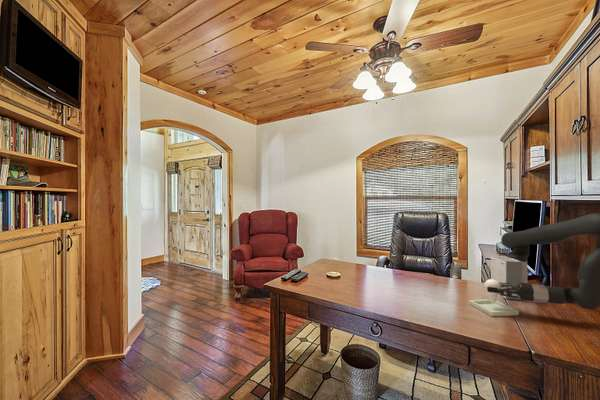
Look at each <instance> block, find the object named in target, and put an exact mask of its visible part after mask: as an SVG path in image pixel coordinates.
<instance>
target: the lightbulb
mask: <svg viewBox="0 0 600 400" xmlns="http://www.w3.org/2000/svg"><path fill="white" fill-rule="evenodd" d="M487 287H493V288H497V289H498V288H501V285H500V284H499V282H498V281H496V280H494V279H491V278H489V279H486V281H485V282H484V288H485V290H487ZM487 294H488V299H490V301H491V302H492V303H494V302H496V300H497V298H498V295H499V294H498V293H493V292H488V291H487Z"/></svg>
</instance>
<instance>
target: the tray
mask: <svg viewBox="0 0 600 400" xmlns="http://www.w3.org/2000/svg"><path fill="white" fill-rule="evenodd" d="M468 305H469V306H471V307H473V308H475V309H477V310H478V311H480V312H482V313H484V314H486V315H487V316H490V317H492V318H495V317H511V316H512V317H513V316H519V315H520V310H518V309H516V308H514V307H512V306H510V305H507V304H505V303H503V302H501V301H499V300H497V299H496V302H494V303H492V302H491V301H490V299H489V298H488V299H487V298H485V299H472V300H471V299H470V300H469V299H468Z"/></svg>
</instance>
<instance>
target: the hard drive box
mask: <svg viewBox="0 0 600 400" xmlns="http://www.w3.org/2000/svg"><path fill="white" fill-rule="evenodd" d="M490 279H494V280H496V281H498V282H499V283H510V285H512V286H517V284H518V283H522V262H521V261H518V260H515V259H513V258H510V257H507V256H506V255H495V254H493V255H490ZM498 295H499V296H501V297H503V299H507V300H518V301H521V300H520V299H519V298H514V297H508V296H502V295H500V294H498Z"/></svg>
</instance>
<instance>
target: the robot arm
mask: <svg viewBox="0 0 600 400" xmlns="http://www.w3.org/2000/svg"><path fill="white" fill-rule="evenodd" d="M581 235H583V236H584V235H591V236H592V235H593V236H597V237H598V240H597V243H596V246H595V247H594V248H593V249H592V250H591V251H590V253H588V254H587V255H586V256H585V257H584V258H583V259H582V261H581V262H580V264H579V268H578V272H577V275H576V280H577V282H578V287H558V286H557V287H556V286H549V285H542V284H538V283H537V284H536V283H528V258H529V256H530V246H531V245H550V244H557V243H562V242H566V241H567V240H568V239H570V238H571V237H574V236H581ZM500 242H501V243H502V245H503V246H505V247H506V248H509V249H511V251H510V252H507V253H506V254H505V256H507V257H510V258H513V259H515V260H518V261H521V262H522V283H518V284H517V286H512V285H510V283H499V284H500V285H501V288H498V289H497V288H493V287H487V289H486V291H487V293H488V292H493V293H498V294H497V295H499V294H500V295H499V296H501V295H502V296H508V297H514V298H519V299H520V300H519V301H528V302H536V303H548V304H556V305H564V304H573V305H577V306H579V307H580V308H582V309H585V310H588V311H592V310H597V309H598V308H599V307H600V213H599V212H596V213H589V214H585V215H582V216H579V217H576V218H572V219H569V220H564V221H559V222H555V223H549V224H548V223H547V224H543V225H540V226H539V225H538V226H536V227H532V228H527V229H525V230H519V231H507V232H506V233H504V234H502V236H501V241H500ZM502 296H501V297H502Z"/></svg>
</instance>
